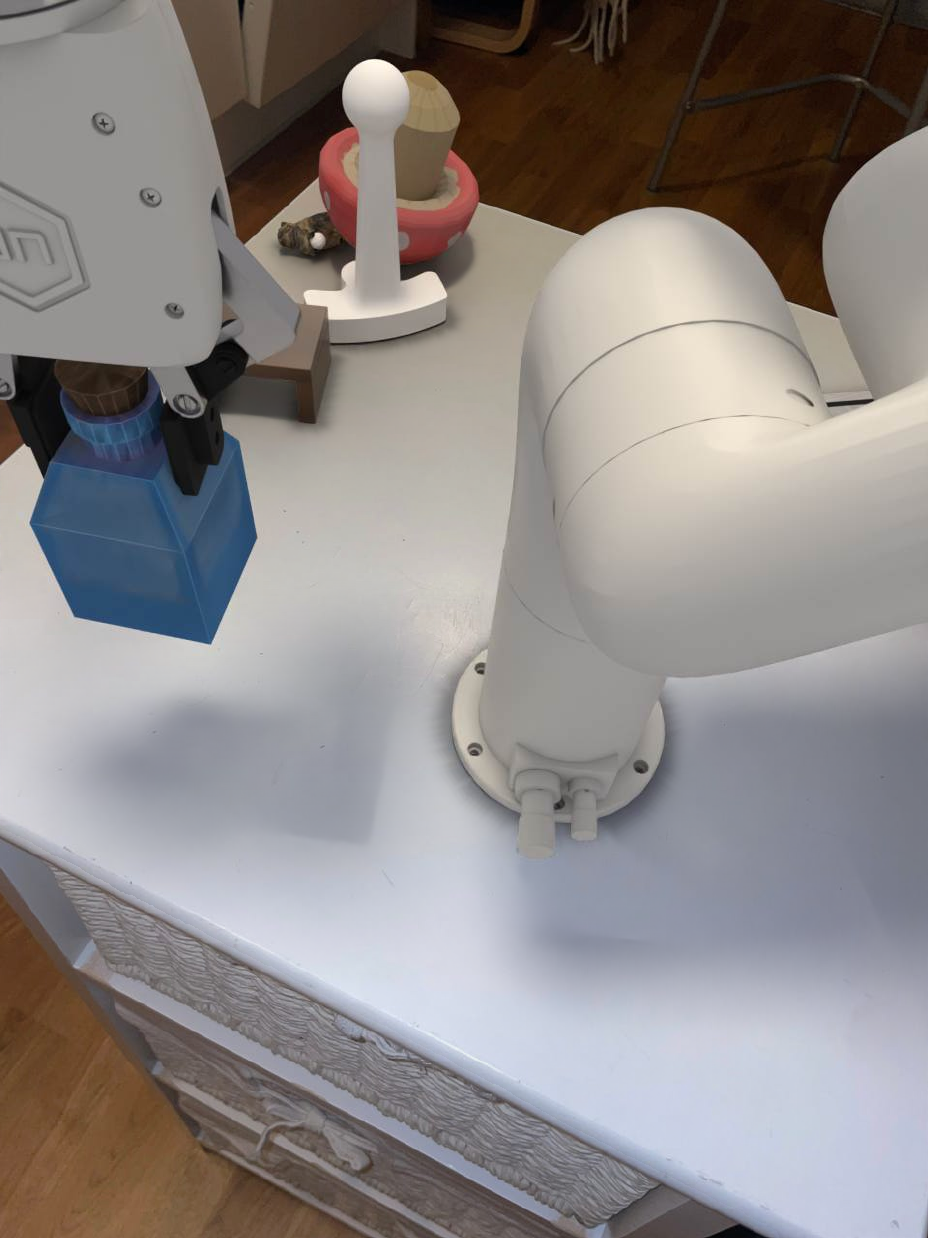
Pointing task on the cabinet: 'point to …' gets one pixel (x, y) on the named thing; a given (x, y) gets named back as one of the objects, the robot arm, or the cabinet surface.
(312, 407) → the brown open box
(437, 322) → the joystick
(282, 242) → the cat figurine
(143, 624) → the perfume bottle
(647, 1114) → the cabinet surface
